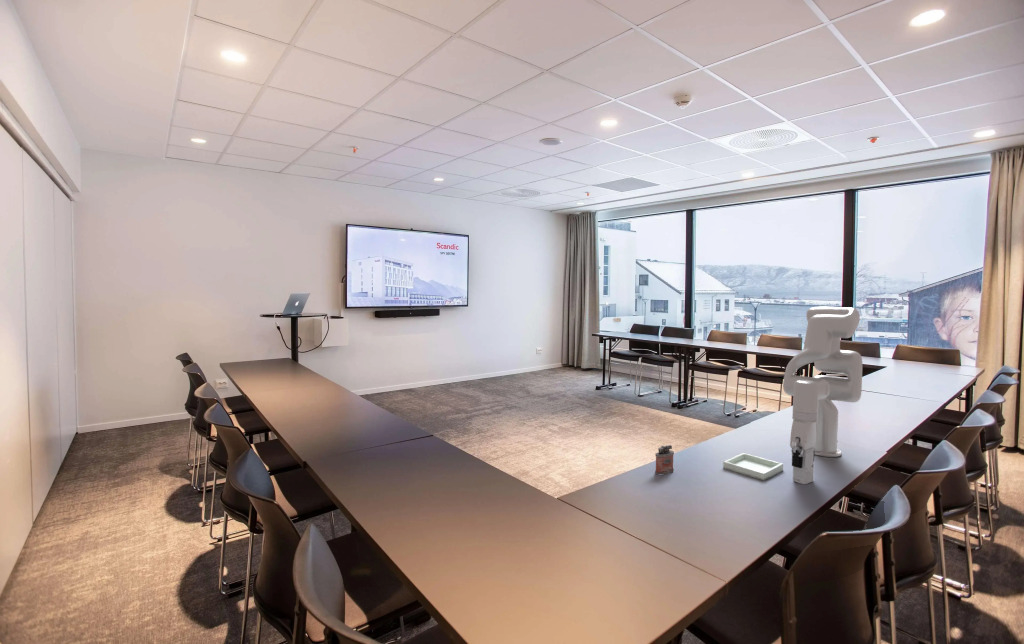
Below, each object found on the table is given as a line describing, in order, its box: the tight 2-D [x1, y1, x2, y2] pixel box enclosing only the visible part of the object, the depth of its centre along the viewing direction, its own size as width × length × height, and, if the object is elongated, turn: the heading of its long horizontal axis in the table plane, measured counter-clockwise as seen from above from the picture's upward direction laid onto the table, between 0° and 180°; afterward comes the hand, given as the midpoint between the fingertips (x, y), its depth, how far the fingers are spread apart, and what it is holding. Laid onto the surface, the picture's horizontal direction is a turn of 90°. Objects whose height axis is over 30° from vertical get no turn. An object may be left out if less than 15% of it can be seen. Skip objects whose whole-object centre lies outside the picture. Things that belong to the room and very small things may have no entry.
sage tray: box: [722, 452, 784, 481], centre depth 179 cm, size 15×15×2 cm
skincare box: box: [792, 446, 815, 485], centre depth 168 cm, size 6×4×12 cm
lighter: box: [654, 444, 675, 475], centre depth 177 cm, size 8×3×10 cm, turn 117°
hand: (803, 464), depth 167 cm, fingers open, 9 cm apart
